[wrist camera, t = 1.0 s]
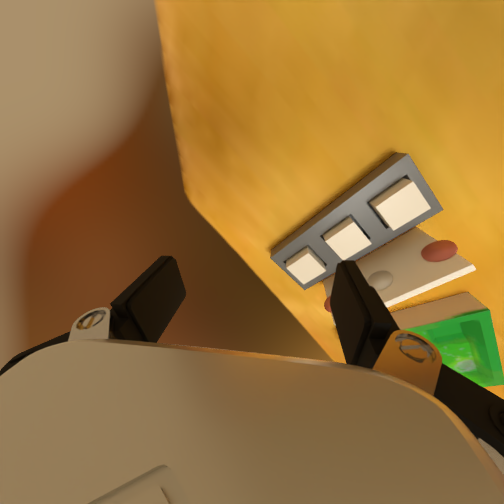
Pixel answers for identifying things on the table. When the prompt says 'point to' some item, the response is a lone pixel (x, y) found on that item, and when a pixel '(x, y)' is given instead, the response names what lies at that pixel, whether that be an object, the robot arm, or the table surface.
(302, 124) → the table surface
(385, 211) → the button
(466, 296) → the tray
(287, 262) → the button
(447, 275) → the button panel
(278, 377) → the robot arm
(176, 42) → the table surface
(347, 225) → the middle button
